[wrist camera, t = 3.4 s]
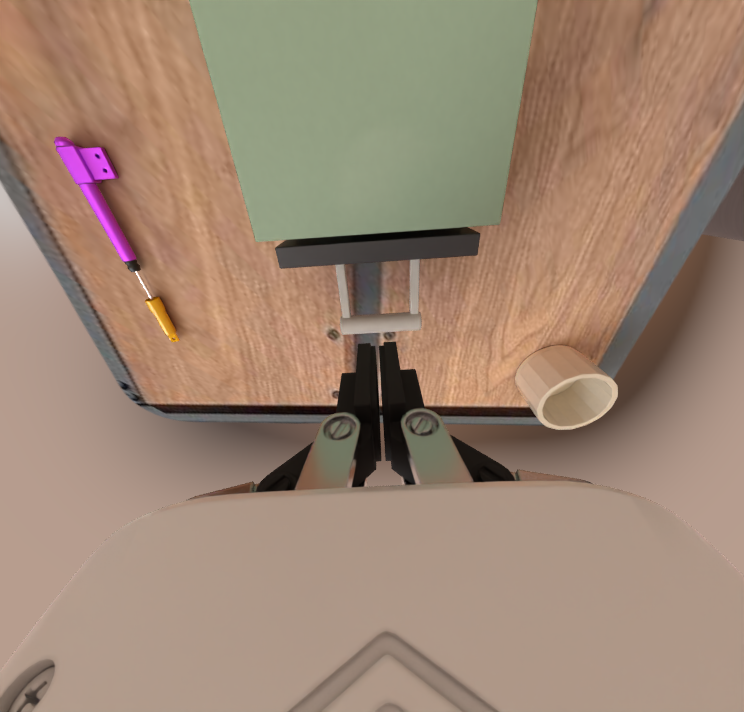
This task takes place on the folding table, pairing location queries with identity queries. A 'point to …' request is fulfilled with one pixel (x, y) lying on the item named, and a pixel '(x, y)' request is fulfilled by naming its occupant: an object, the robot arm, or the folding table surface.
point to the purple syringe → (107, 211)
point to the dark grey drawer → (379, 250)
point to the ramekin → (565, 387)
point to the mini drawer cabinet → (368, 109)
